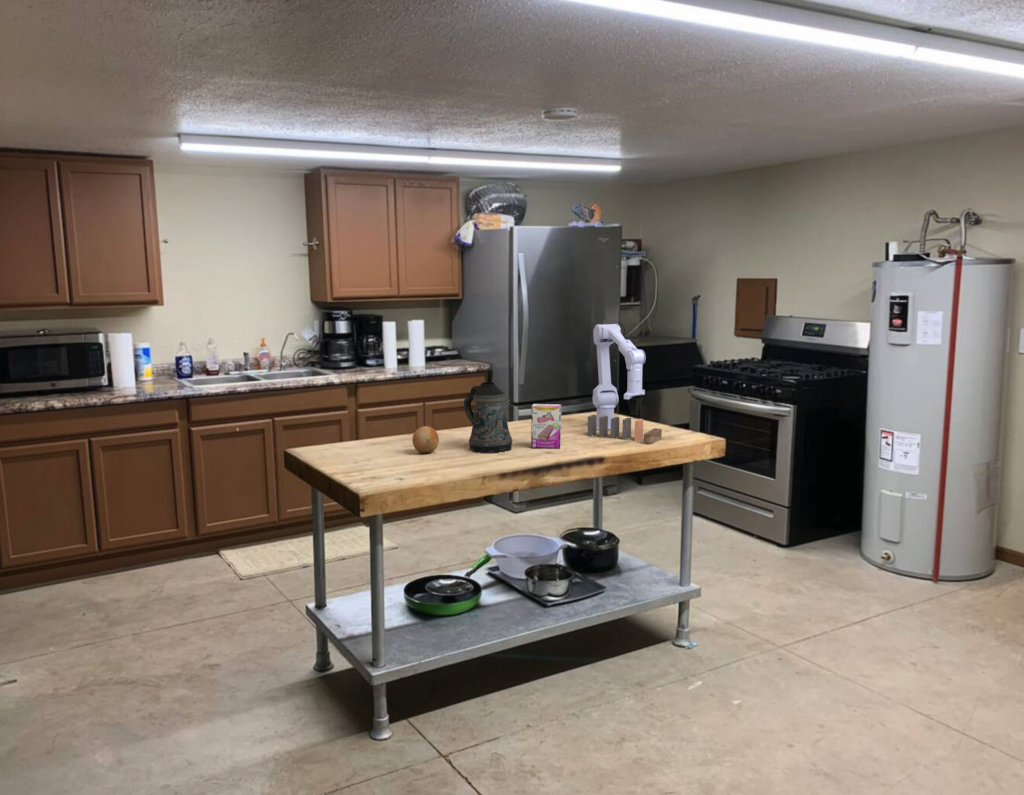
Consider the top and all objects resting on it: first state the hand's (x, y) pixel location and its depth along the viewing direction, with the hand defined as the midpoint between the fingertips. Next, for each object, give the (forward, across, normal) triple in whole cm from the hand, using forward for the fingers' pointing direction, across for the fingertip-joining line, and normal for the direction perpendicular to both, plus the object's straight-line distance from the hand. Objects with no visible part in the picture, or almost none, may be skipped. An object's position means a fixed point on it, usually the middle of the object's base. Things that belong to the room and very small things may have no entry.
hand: (634, 414), depth 316 cm
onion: (+10, -63, +54) cm, 83 cm away
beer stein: (+10, -45, +39) cm, 60 cm away
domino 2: (+10, -1, +13) cm, 16 cm away
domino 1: (+10, -2, +18) cm, 21 cm away
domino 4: (+10, 0, +3) cm, 10 cm away
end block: (+10, +1, -8) cm, 13 cm away
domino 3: (+10, -1, +8) cm, 13 cm away
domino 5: (+10, 0, -2) cm, 10 cm away
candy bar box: (+10, -31, +21) cm, 39 cm away
